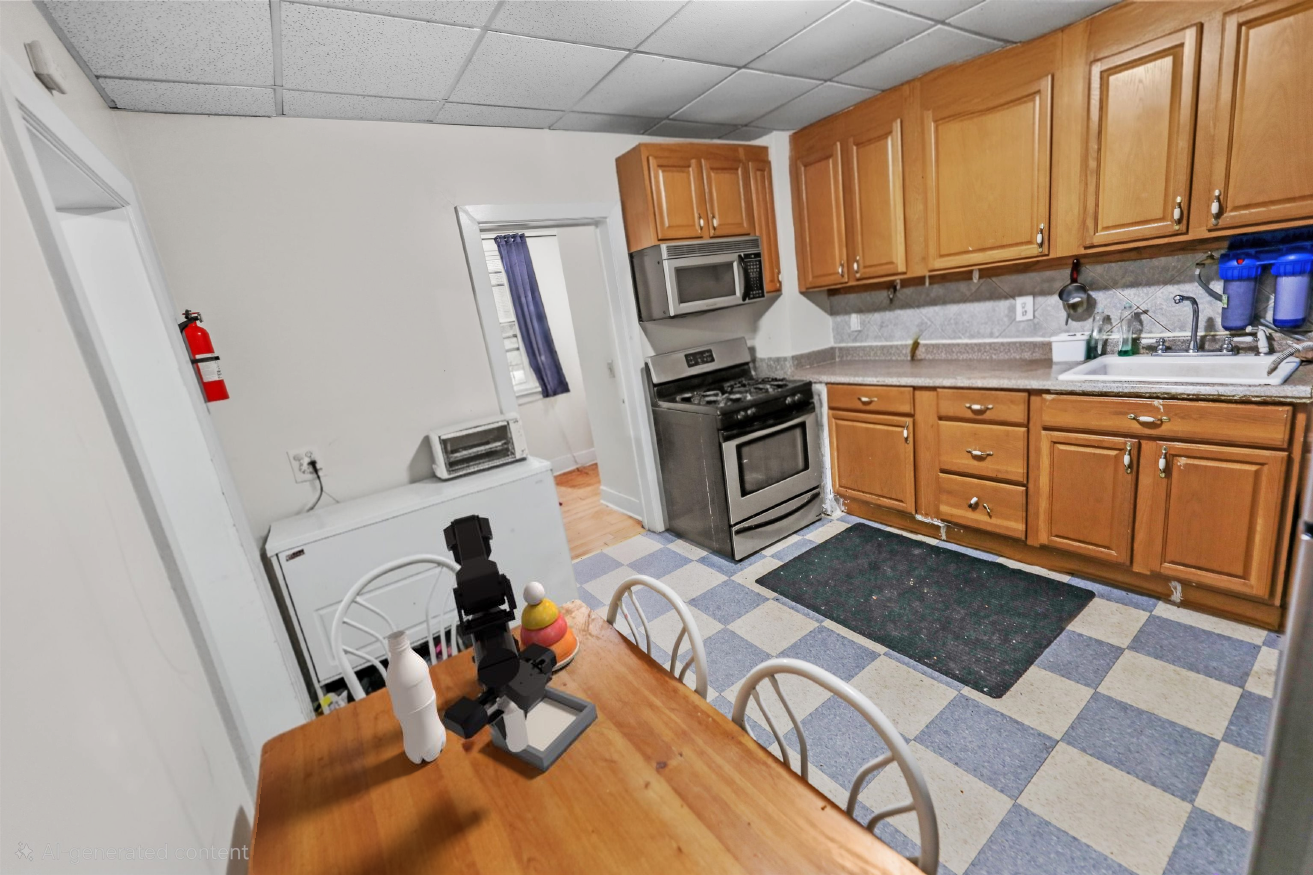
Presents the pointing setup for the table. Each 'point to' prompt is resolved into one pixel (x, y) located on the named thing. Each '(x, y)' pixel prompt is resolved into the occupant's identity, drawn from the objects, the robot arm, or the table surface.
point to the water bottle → (413, 700)
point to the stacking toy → (546, 626)
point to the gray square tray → (552, 727)
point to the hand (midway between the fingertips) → (513, 730)
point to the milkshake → (514, 725)
